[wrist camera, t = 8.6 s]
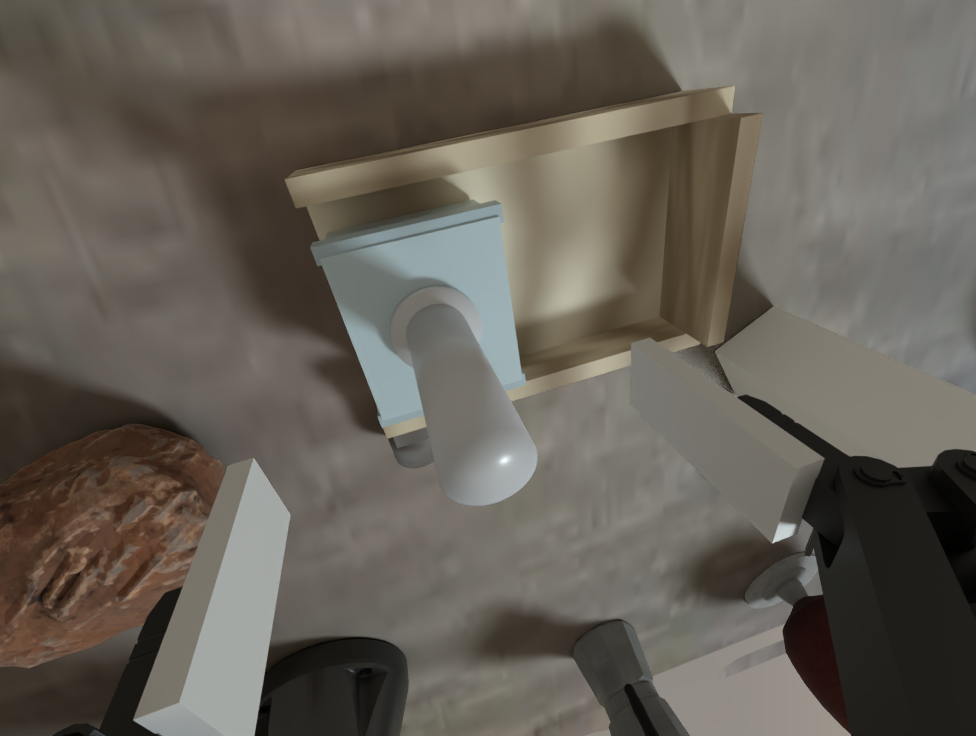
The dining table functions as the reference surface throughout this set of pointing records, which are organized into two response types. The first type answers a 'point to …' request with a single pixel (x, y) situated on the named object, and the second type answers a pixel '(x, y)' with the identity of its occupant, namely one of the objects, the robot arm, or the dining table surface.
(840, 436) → the milk
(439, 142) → the tray
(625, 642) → the coffeepot
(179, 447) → the decorative rock
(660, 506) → the dining table surface
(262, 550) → the robot arm
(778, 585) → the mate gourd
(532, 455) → the cylinder on square plate
